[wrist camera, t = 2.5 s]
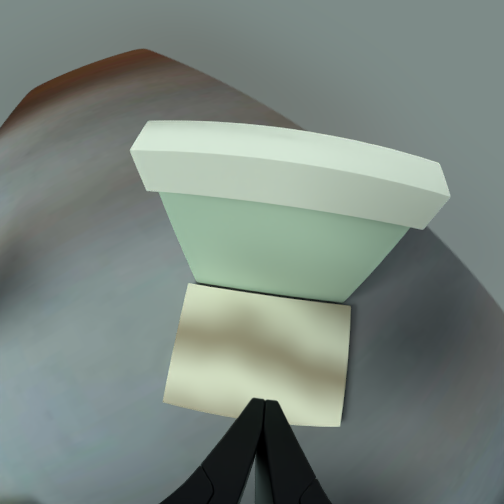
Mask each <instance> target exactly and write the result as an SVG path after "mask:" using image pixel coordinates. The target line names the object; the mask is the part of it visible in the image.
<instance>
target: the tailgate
mask: <svg viewBox="0 0 504 504" xmlns="http://www.w3.org/2000/svg"><path fill="white" fill-rule="evenodd" d="M130 152H131V155H132V157H133V160H134V162H135V164H136V167H137V169H138V172H139V174H140V176H141V179H142V181H143V183H144V186H145V188H146V190H147V191H158V192H159V194H160V196H161V199H162V202H163V204H164V207H165V209H166V212H167V214H168V216H169V219H170V221H171V224H172V226H173V229H174V231H175V233H176V236H177V238H178V240H179V243H180V245H181V248H182V250H183V252H184V254H185V257H186V259H187V261H188V264H189V266H190V268H191V270H192V273H193V275H194V277H195V279H196V281H197V282H198V283H204V284H210V285H216V286H223V287H229V288H236V289H242V290H249V291H256V292H263V293H270V294H277V295H284V296H292V297H300V298H307V299H315V300H324V301H332V302H341V303H343V302H344V301H345V300H346V299H347V298H348V297H349V296H350V295H351V294H352V293H353V292H354V291H355V290H356V289H357V288H358V287H359V286H360V285H361V283H362V282H363V281H364V280H365V279H366V278H367V277H368V276H369V275H370V274H371V273H372V272H373V270H374V269H375V268H376V267H377V266H378V265H379V264H380V263H381V261H382V260H383V259H384V258H385V257H386V256H387V255H388V253H389V252H390V251H391V250H392V249H393V248H394V247H395V245H396V244H397V243H398V242H399V241H400V239H401V238H402V237H403V236H404V235H405V233H406V232H407V231H408V230H409V229H410V227H412V228H416V229H421V230H424V228H425V227H426V226H427V225H428V224H429V223H430V221H431V220H432V219H433V218H434V217H435V215H436V214H437V213H438V212H439V211H440V210H441V208H442V207H443V206H444V205H445V203H446V202H447V201H448V200H449V198H450V197H451V196H450V193H449V190H448V187H447V183H446V180H445V178H444V174H443V172H442V169H441V166H440V163H437V162H434V161H431V160H428V159H425V158H421V157H418V156H415V155H411V154H407V153H404V152H401V151H397V150H393V149H389V148H385V147H381V146H377V145H373V144H369V143H364V142H360V141H356V140H351V139H346V138H341V137H336V136H330V135H324V134H319V133H313V132H307V131H301V130H294V129H287V128H279V127H270V126H261V125H251V124H240V123H226V122H208V121H148V122H147V123H146V125H145V126H144V128H143V130H142V131H141V133H140V134H139V136H138V138H137V139H136V141H135V143H134V144H133V146H132V148H131V149H130Z"/></svg>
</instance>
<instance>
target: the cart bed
mask: <svg viewBox="0 0 504 504" xmlns="http://www.w3.org/2000/svg"><path fill="white" fill-rule="evenodd" d="M350 316H351V306H347V305H338V304H330V303H321V302H313V301H305V300H297V299H290V298H282V297H275V296H268V295H261V294H254V293H247V292H240V291H234V290H227V289H221V288H215V287H208V286H202V285H196V284H190V283H188V287H187V291H186V296H185V300H184V304H183V308H182V312H181V317H180V321H179V325H178V330H177V334H176V339H175V344H174V348H173V353H172V358H171V363H170V367H169V372H168V377H167V383H166V388H165V393H164V398H163V402H164V403H168V404H172V405H176V406H180V407H184V408H188V409H193V410H197V411H202V412H206V413H211V414H217V415H222V416H228V417H233V418H238V416H239V415H240V414H241V412H242V411H243V410H244V408H245V407H246V406H247V404H248V403H249V401H250V400H251V399H252V398H261V399H264V400H267V399H269V400H277V401H278V402H279V404H280V406H281V408H282V410H283V412H284V414H285V416H286V418H287V420H288V423H289V424H290V425H303V426H325V427H340V422H341V415H342V408H343V400H344V392H345V383H346V373H347V362H348V350H349V335H350Z"/></svg>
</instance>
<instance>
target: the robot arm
mask: <svg viewBox="0 0 504 504" xmlns="http://www.w3.org/2000/svg"><path fill="white" fill-rule="evenodd" d="M255 455H256V457H255ZM254 458H255V504H332V503H331V502H330V500H329V499H328V497H327V496H326V494H325V492H324V490H323V489H322V487H321V485H320V483H319V481H318V479H315V478H316V476H315V474H314V472H313V470H312V468H311V466H310V464H309V462H308V460H307V458H306V457H305V455H304V453H303V451H302V449H301V447H300V445H299V443H298V441H297V439H296V437H295V435H294V433H293V431H292V429H291V427H290V425H289V423H288V420H287V418H286V416H285V414H284V412H283V410H282V408H281V406H280V404H279V402H278V401H277V400H269V399H267V400H264V399H261V398H252V399H251V400H250V401H249V403H248V404H247V406H246V407H245V408H244V410H243V411H242V412H241V414H240V415H239V416H238V418H237V419H236V420H235V422H234V423H233V424H232V426H231V427H230V428H229V430H228V431H227V432H226V434H225V435H224V436H223V437H222V439H221V440H220V441H219V442H218V444H217V445H216V446H215V447H214V449H213V450H212V451H211V452H210V454H209V455H208V456H207V457H206V459H205V460H204V461H203V462H202V463H201V466H199V467H198V468H197V469H196V470H195V472H194V473H193V474H192V475H191V476H190V477H189V478H188V479H187V480H186V481H185V482H184V483H183V484H182V485H181V486H180V487H179V488H178V489H177V490H176V491H174V492H173V493H172V494H171V495H170V496H168V497H167V498H166V499H165V500H163V501H162V502H161V503H159V504H240V502H241V499H242V496H243V493H244V490H245V487H246V484H247V481H248V478H249V475H250V471H251V468H252V465H253V462H254Z"/></svg>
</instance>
